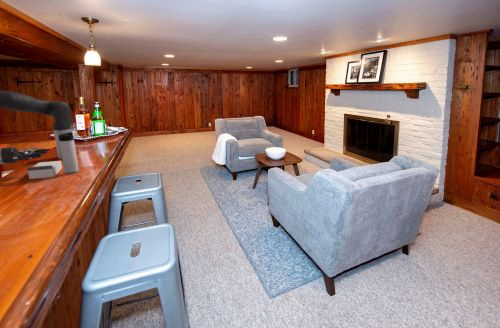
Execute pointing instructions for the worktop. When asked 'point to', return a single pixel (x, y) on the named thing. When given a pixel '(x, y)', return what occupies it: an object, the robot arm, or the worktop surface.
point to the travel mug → (68, 153)
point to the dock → (44, 169)
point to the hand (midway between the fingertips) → (43, 153)
